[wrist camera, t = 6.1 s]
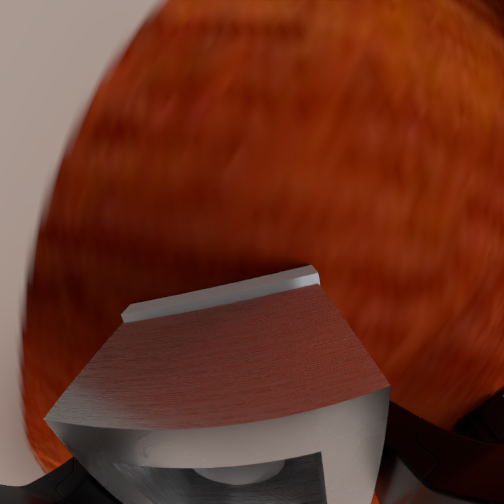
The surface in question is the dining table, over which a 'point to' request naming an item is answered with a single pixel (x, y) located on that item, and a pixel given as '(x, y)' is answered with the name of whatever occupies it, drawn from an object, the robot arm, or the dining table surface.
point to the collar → (231, 405)
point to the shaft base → (216, 298)
